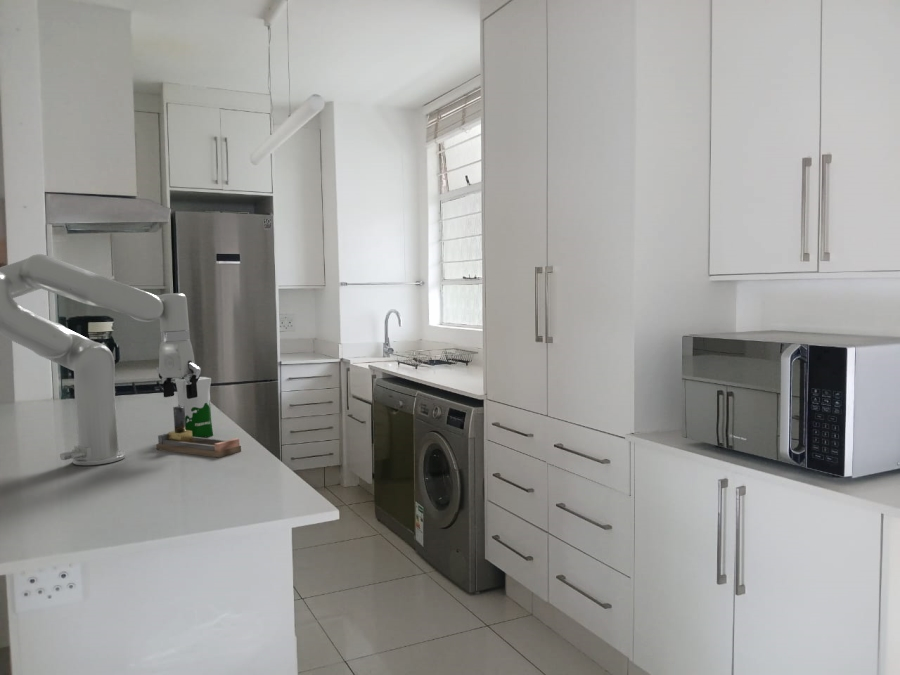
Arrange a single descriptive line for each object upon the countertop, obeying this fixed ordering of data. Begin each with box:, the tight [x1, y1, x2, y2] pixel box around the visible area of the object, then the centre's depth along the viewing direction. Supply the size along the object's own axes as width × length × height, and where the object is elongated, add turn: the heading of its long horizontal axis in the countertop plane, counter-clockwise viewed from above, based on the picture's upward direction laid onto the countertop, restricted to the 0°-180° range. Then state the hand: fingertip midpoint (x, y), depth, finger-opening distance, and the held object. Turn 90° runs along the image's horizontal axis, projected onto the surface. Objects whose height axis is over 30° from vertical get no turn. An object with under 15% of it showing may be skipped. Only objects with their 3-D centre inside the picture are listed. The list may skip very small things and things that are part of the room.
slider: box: [168, 405, 193, 442], centre depth 197 cm, size 4×5×10 cm
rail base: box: [155, 432, 242, 458], centre depth 194 cm, size 8×25×4 cm, turn 60°
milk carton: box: [174, 376, 214, 438], centre depth 212 cm, size 9×9×20 cm
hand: (180, 397), depth 197 cm, fingers open, 9 cm apart
